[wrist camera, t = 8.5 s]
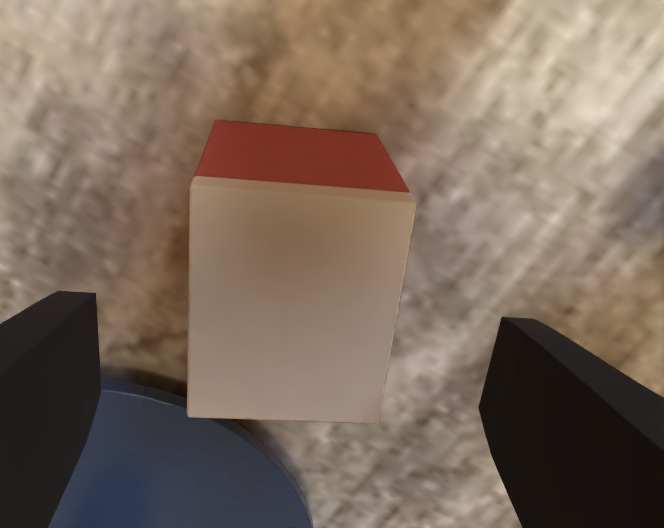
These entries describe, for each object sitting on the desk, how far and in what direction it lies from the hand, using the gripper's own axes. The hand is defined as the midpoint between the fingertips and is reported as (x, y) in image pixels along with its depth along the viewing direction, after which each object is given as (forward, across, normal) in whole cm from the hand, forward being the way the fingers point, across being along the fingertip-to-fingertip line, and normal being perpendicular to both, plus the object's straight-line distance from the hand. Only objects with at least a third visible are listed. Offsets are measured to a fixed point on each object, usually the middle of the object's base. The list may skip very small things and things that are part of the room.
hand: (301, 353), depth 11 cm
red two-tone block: (+6, 0, 0) cm, 6 cm away
